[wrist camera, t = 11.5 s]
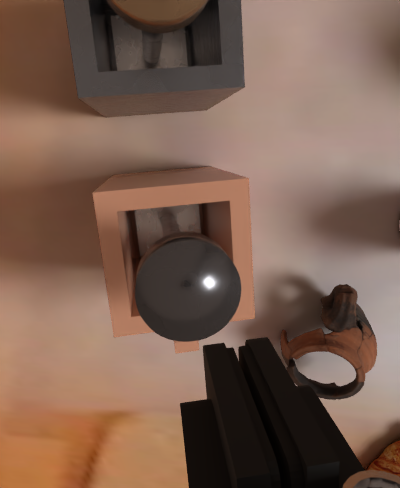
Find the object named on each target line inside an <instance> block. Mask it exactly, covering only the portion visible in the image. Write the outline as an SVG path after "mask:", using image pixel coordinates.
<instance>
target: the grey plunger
mask: <svg viewBox="0 0 400 488" xmlns="http://www.w3.org/2000/svg"><path fill="white" fill-rule="evenodd" d="M135 219H136V227H137V235H138V243H139V251H140V256H142V258H141V260H140V262H139V265H138V268H137V273H136V286H135V301H136V306H137V309H138V312H139V314H140V316H141V318H142V319H143V321H144V322H145V323H146V324H147V326H148V327H149V328H150V329H152V330H153V331H154V332H155V333H157V334H159V335H160V336H162V337H165V338H167V339H170V340H174V341H181V342H190V341H197V340H201V339H204V338H207V337H209V336H212V335H214V334H215V333H217V332H218V331H220V330H221V329H222V328H224V327H225V326H226V325H227V324H228V323H229V321H230V320H231V319H232V317H233V316H234V314H235V312H236V310H237V308H238V306H239V302H240V298H241V280H240V276H239V273H238V271H237V268H236V267H235V265H234V263H233V262H232V260H231V259H230V258H229V256H228V255H227V254H226V252H225V251H224V250H223V249H222V247H221V246H220V245H219V244H218V243H217V242H215V241H214V240H212V239H211V238H209V237H207V236H205V235H202V234H201V227H200V214H199V204H189V205H179V206H169V207H159V208H148V209H138V210H135Z"/></svg>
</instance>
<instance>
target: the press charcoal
mask: <svg viewBox="0 0 400 488" xmlns="http://www.w3.org/2000/svg"><path fill="white" fill-rule="evenodd" d="M64 7H65V13H66V20H67V27H68V33H69V40H70V47H71V53H72V60H73V67H74V73H75V80H76V87H77V93H78V98H79V99H80V100H82V101H83V102H85V103H86V104H87V105H89V106H90V107H92V108H93V109H94V110H96V111H97V112H99V113H100V114H101V115H103V116H104V117H118V116H132V115H146V114H160V113H174V112H188V111H202V110H208V109H209V108H211V107H213V106H214V105H216V104H218V103H219V102H221V101H223V100H224V99H226V98H228V97H229V96H231V95H232V94H234V93H236V92H237V91H239V90H241V89H242V88H244V87H245V82H244V60H243V37H242V15H241V0H208V2H207V4H206V6H205V7H204V9H203V10H202V12H201V13H200V14H199V15H198V17H197V18H196V19H195V20H193V21H192V22H191V23H190V24H188V25H187V26H185V37H186V50H187V62H188V67H176V68H159V69H141V70H124V71H117V64H116V56H115V48H114V40H113V32H112V24H111V16H117V14H116V13H115V11H114V10H113V9H112V8H111V6H110V5H109V4H108V2H107V0H64Z"/></svg>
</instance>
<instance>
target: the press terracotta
mask: <svg viewBox="0 0 400 488" xmlns="http://www.w3.org/2000/svg"><path fill="white" fill-rule="evenodd" d="M93 200H94V207H95V213H96V220H97V227H98V233H99V240H100V247H101V253H102V260H103V267H104V273H105V280H106V287H107V293H108V300H109V307H110V313H111V320H112V327H113V333H114V337H120V336H127V335H134V334H142V333H149V332H154V331H153V330H152V329H150V328H149V327H148V326H147V324H146V323H145V322H144V321H143V319H142V318H141V316H140V314H139V312H138V309H137V306H136V301H135V286H136V273H137V268H138V265H139V262H140V260H141V258H142V256H140V251H139V243H138V235H137V227H136V219H135V210H138V209H148V208H159V207H169V206H179V205H189V204H199V214H200V227H201V234H202V235H205V236H207V237H209V238H211V239H212V240H214V241H215V242H217V243H218V244H219V245H220V246H221V247H222V249H223V250H224V251H225V252H226V254H227V255H228V256H229V258H230V259H231V260H232V262H233V263H234V265H235V267H236V268H237V271H238V273H239V276H240V280H241V298H240V302H239V306H238V308H237V310H236V312H235V314H234V316H233V317H232V319H231V320H230V321H229V322H231V321H239V320H246V319H254V318H255V309H254V286H253V263H252V241H251V218H250V196H249V178H246V177H243V176H240V175H237V174H234V173H230V172H227V171H224V170H221V169H217V168H214V167H211V166H208V167H197V168H185V169H174V170H163V171H151V172H140V173H128V174H117V175H112V176H111V177H110V178H109V179H108V180H107V181H105V182H104V183H103V184H102V185H101V186H100V187H98V188H97V189H96V190H95V191H94V192H93ZM174 345H175V352H176V353H182V352H189V351H196V350H199V343H198V340H197V341H190V342H181V341H174Z"/></svg>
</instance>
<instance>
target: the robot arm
mask: <svg viewBox="0 0 400 488" xmlns="http://www.w3.org/2000/svg"><path fill="white" fill-rule="evenodd" d="M203 356H204V368H205V380H206V392H207V399H206V400H199V401H192V402H185V403H180V407H181V416H182V426H183V435H184V445H185V454H186V464H187V473H188V483H189V488H400V477H399V476H397V475H394V474H391V473H388V472H385V471H377V470H367V471H365V470H364V468H363V467H362V465H361V463H360V462H359V460H358V459H357V457H356V456H355V454H354V452H353V451H352V449H351V448H350V446H349V445H348V443H347V442H346V440H345V438H344V437H343V435H342V434H341V432H340V431H339V429H338V427H337V426H336V424H335V423H334V421H333V420H332V418H331V416H330V415H329V413H328V412H327V410H326V409H325V407H324V406H323V404H322V402H321V401H320V399H319V398H318V396H317V395H316V393H315V391H314V390H313V389H312V387H311V386H309V385H302V386H296V385H295V384H294V382H293V380H292V378H291V377H290V375H289V373H288V372H287V370H286V368H285V366H284V365H283V363H282V361H281V359H280V358H279V356H278V354H277V352H276V351H275V349H274V347H273V346H272V344H271V342H270V340H269V339H268V338H267V337H265V338H257V339H249V340H246V342H245V346H240V347H239V361H238V358H237V356H236V353H235V351H234V348H233V347H232V348H226V346H225V344H224V343H219V344H211V345H204V346H203Z"/></svg>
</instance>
